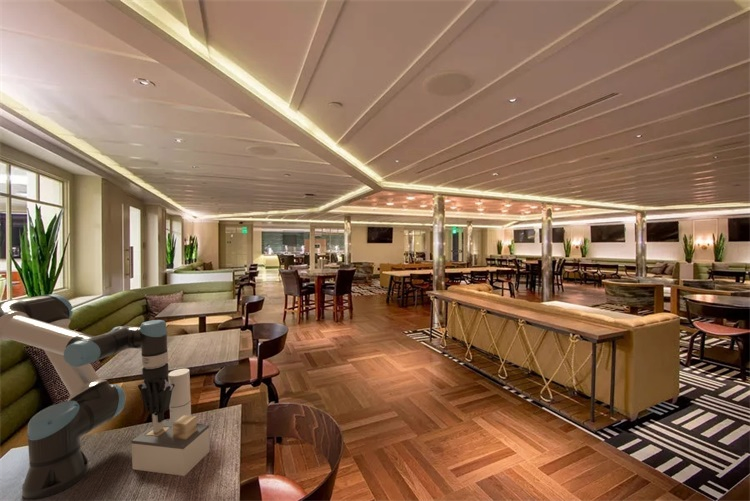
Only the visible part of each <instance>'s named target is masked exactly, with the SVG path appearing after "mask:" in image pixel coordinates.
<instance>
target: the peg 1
mask: <svg viewBox="0 0 750 501" xmlns="http://www.w3.org/2000/svg"><path fill="white" fill-rule="evenodd" d="M169 428H170V427H163V429H161V430H160V431H159V432H157V433H153V430H152V431H150V432H149V433H147V434H146V435H148V436H157V437H158V436H160V435H161V434H162V433H164V432H165V431H167V430H168V429H169Z"/></svg>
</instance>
